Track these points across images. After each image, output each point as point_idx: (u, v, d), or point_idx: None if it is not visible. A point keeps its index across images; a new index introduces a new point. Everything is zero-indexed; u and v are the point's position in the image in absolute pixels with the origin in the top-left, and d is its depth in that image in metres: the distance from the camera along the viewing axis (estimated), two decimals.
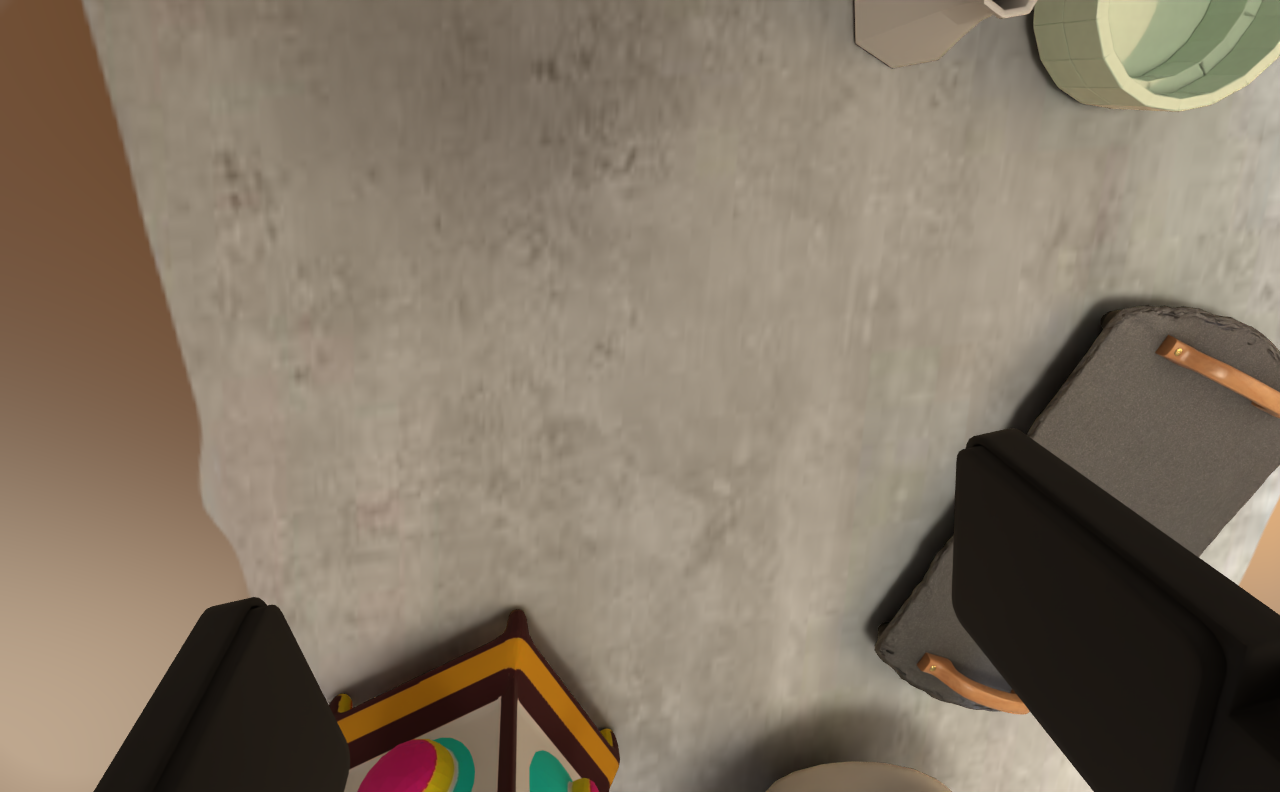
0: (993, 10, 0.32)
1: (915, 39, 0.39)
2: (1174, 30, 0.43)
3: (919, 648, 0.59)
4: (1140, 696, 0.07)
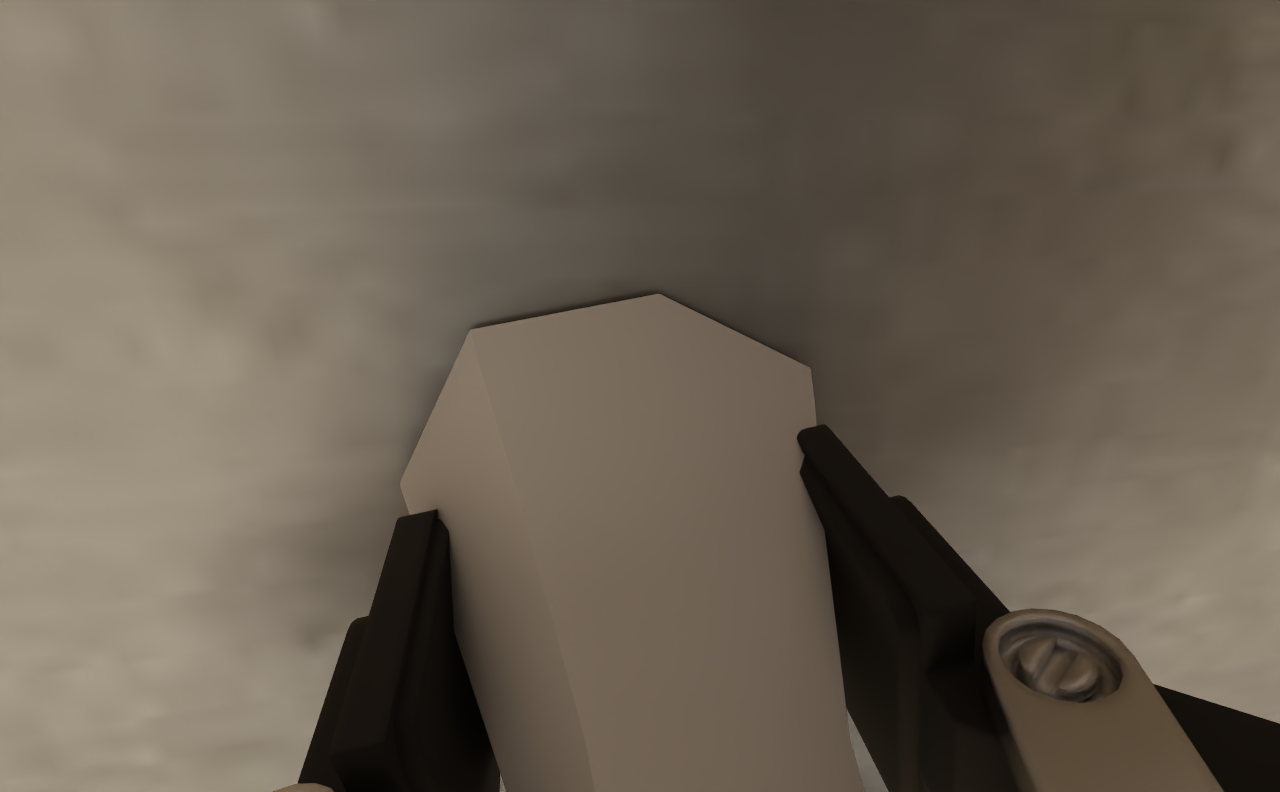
0: None
1: (476, 577, 0.08)
2: None
3: None
4: (877, 661, 0.08)
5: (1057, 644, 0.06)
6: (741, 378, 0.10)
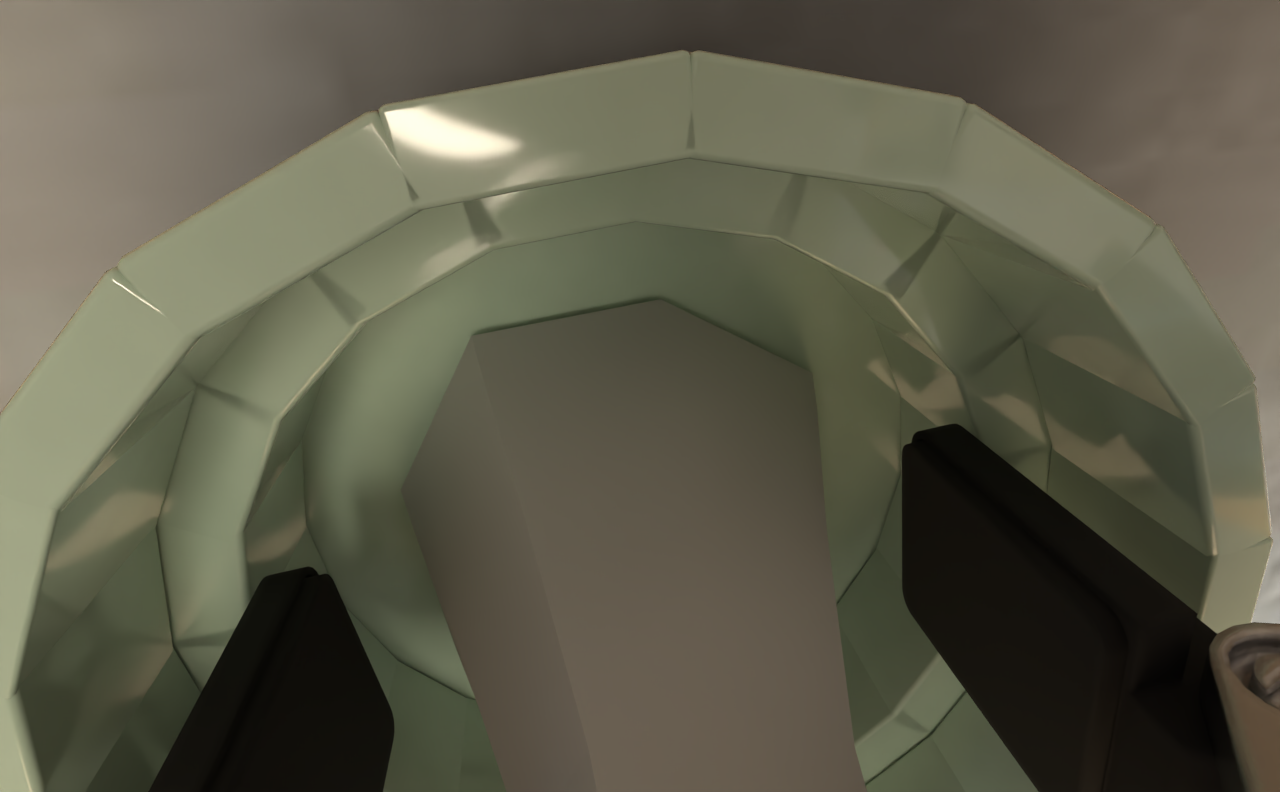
0: None
1: (478, 584, 0.08)
2: None
3: None
4: (1057, 677, 0.07)
5: None
6: (743, 384, 0.10)
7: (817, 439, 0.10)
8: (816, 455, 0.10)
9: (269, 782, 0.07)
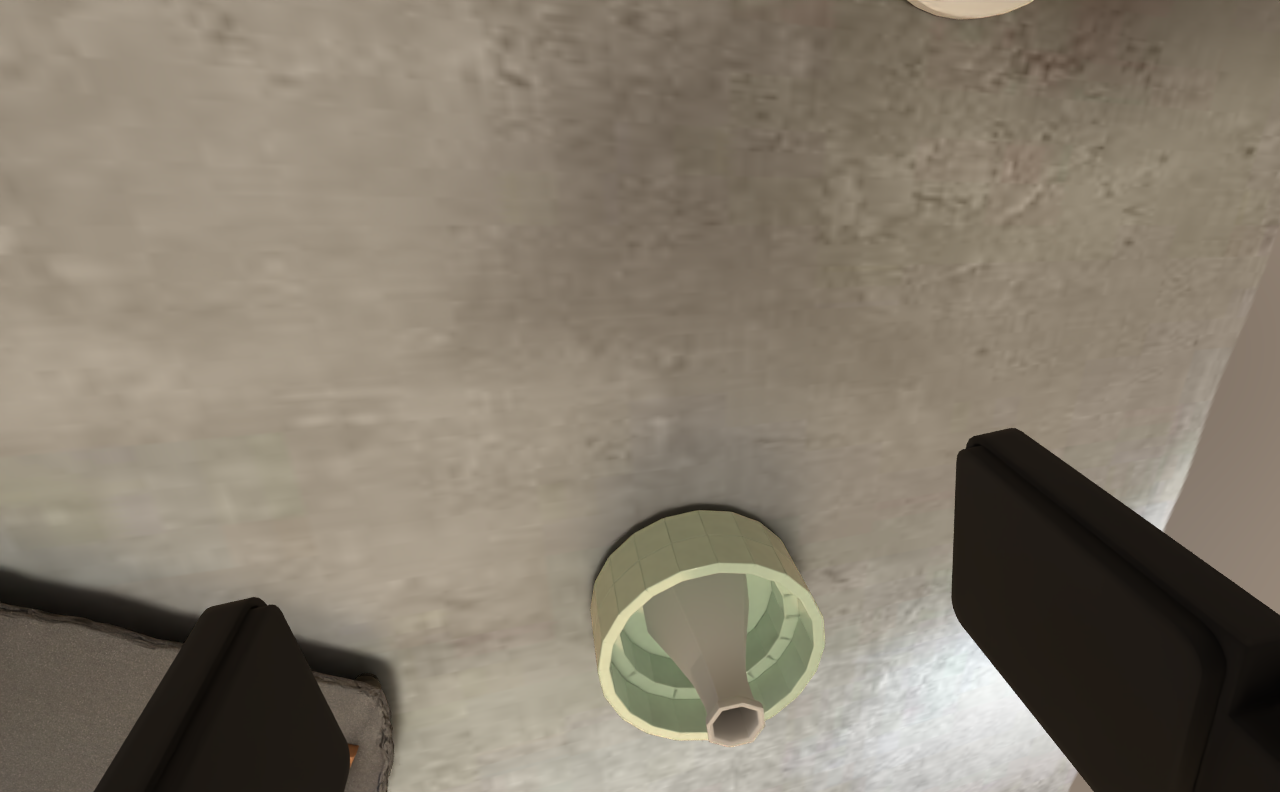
0: (713, 716, 0.36)
1: (672, 624, 0.42)
2: None
3: None
4: (1140, 696, 0.07)
5: None
6: (727, 576, 0.43)
7: (744, 589, 0.43)
8: (743, 594, 0.43)
9: None
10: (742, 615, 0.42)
